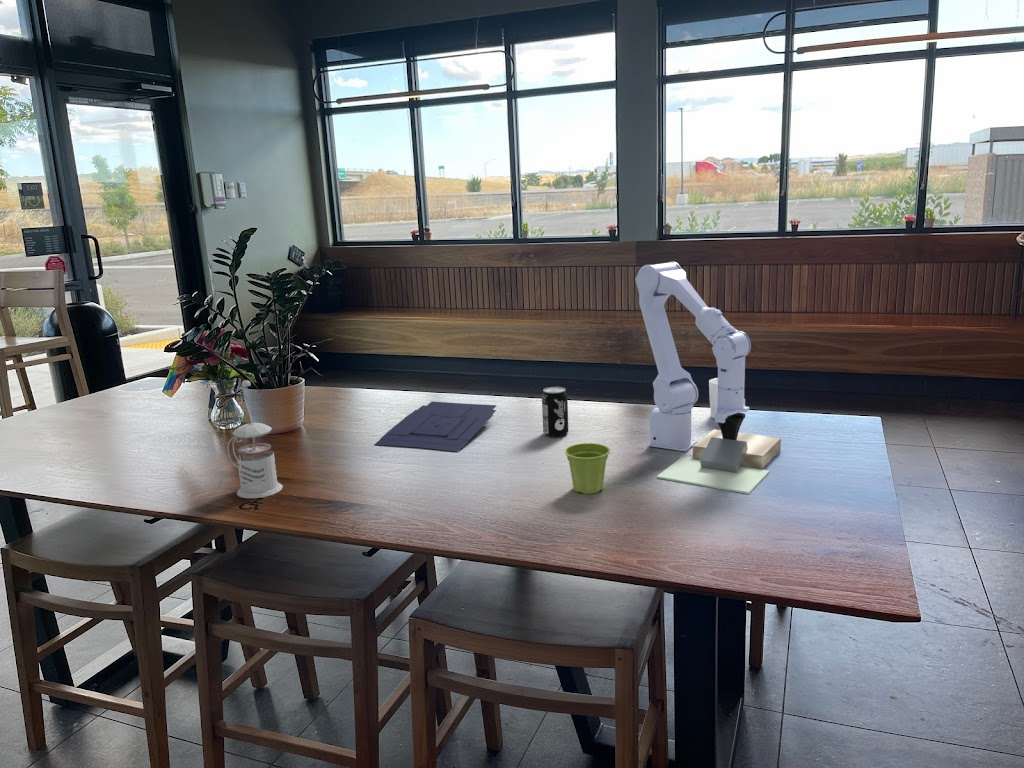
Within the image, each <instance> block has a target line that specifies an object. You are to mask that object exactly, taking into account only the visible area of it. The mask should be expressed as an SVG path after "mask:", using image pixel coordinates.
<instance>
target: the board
mask: <svg viewBox="0 0 1024 768" xmlns="http://www.w3.org/2000/svg"><path fill="white" fill-rule="evenodd" d="M711 437H715V438H723V437H722V433H721V429H714V428H713V430H711V431H710V432H709V433H707V434H706V435H705V436H703V437H702V438H701V439H699V440H697V443H696V444H694V445H693V446H692V459H697V460H700V458H701V456H702V454H703V453H704V451H705V449H706V447H707V445H708V443H709V441H710V439H711ZM737 440H738V441H746V442H747V448H748V450H747V452H746V454H745V456H744V458H743V461H742V463H741V465H740V466H742V467H749V468H755V469H762V470H764V468H765V467H766V466H767V465H768V464H767V463H768V462H769V461H770V460H771V459H772V458H773V457H774V456H776V455H778V454H779V452H780V451H781V447H782V446H781V445H782V438H781V437H773V436H768V435H759V434H752V433H745V432H744V433H743V432H738V436H737ZM774 458H775V457H774ZM774 458H773V459H774ZM770 462H771V461H770ZM770 462H769V463H770ZM765 465H766V466H765Z"/></svg>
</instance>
